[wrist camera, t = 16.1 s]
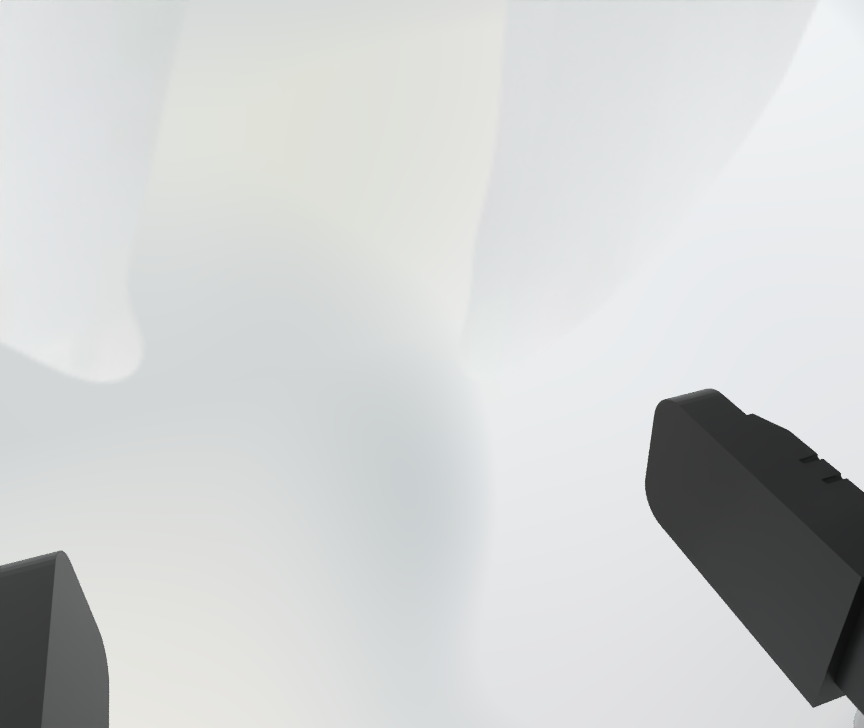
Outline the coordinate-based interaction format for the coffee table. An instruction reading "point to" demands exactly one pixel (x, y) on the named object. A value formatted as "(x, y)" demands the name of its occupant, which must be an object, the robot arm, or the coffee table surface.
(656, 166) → the coffee table surface
